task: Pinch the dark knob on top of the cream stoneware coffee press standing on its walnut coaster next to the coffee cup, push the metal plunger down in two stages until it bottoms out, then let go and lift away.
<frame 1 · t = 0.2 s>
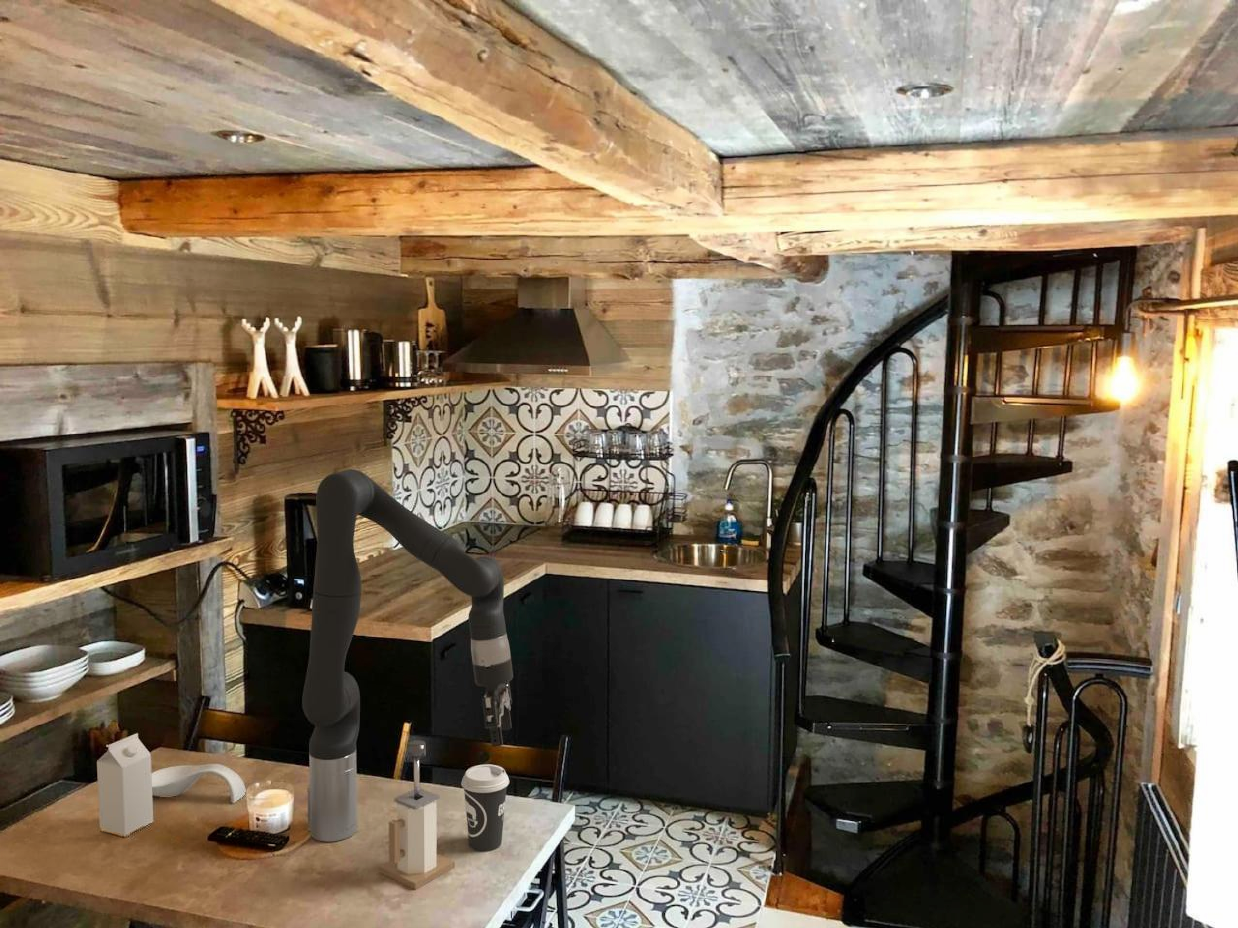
hand: (501, 737, 196), 23 cm above the table, tool pointing down, fingers open, 8 cm apart
spoon rest: (193, 795, 221), on the table
plunger: (416, 777, 187), point 18 cm above the table, slide at 0.0 cm
milk carton: (126, 828, 205), on the table
press: (417, 869, 189), on the table
coffee cup: (485, 844, 200), on the table
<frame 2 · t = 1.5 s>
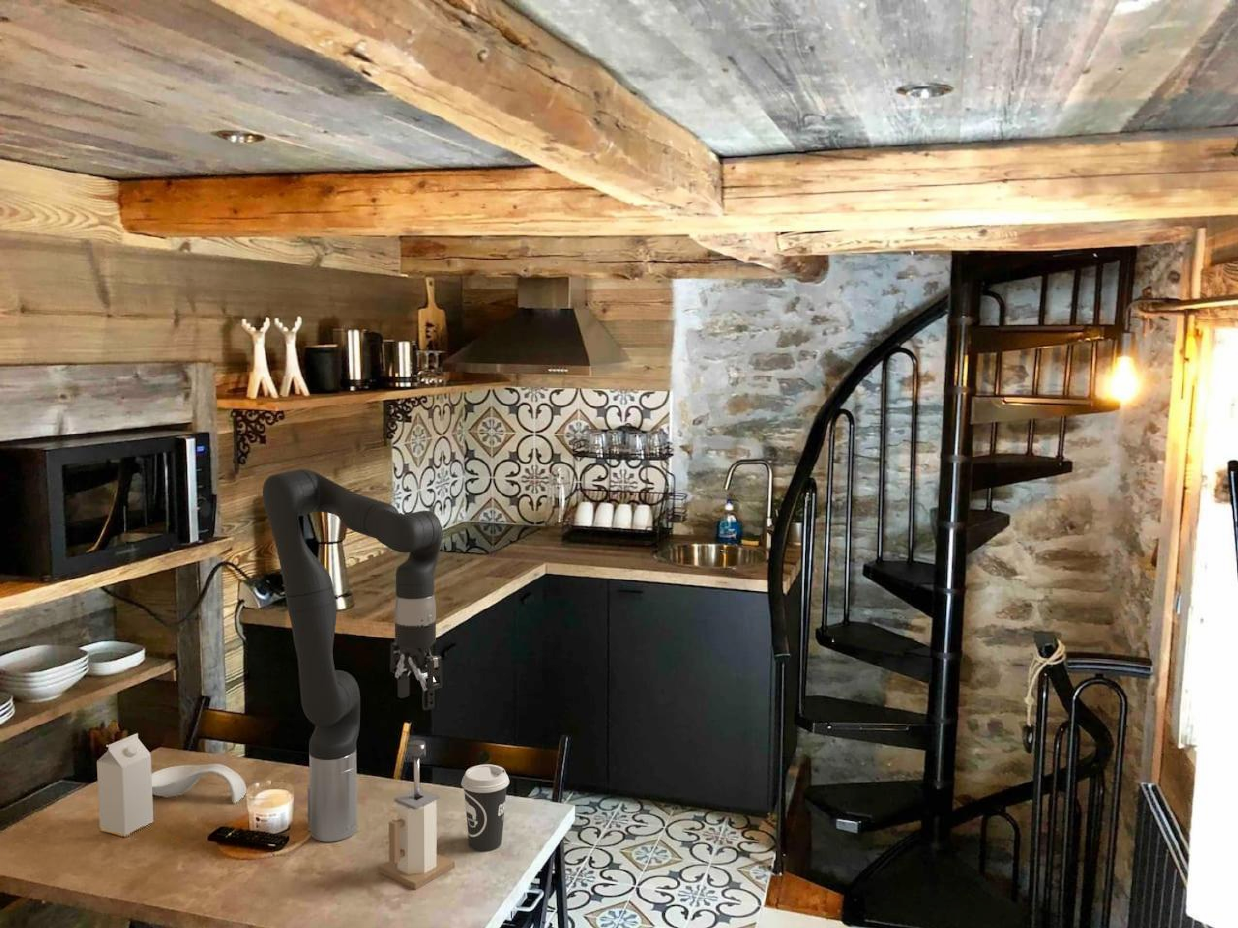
hand: (415, 702, 186), 33 cm above the table, tool pointing down, fingers open, 8 cm apart
nothing on the table moved.
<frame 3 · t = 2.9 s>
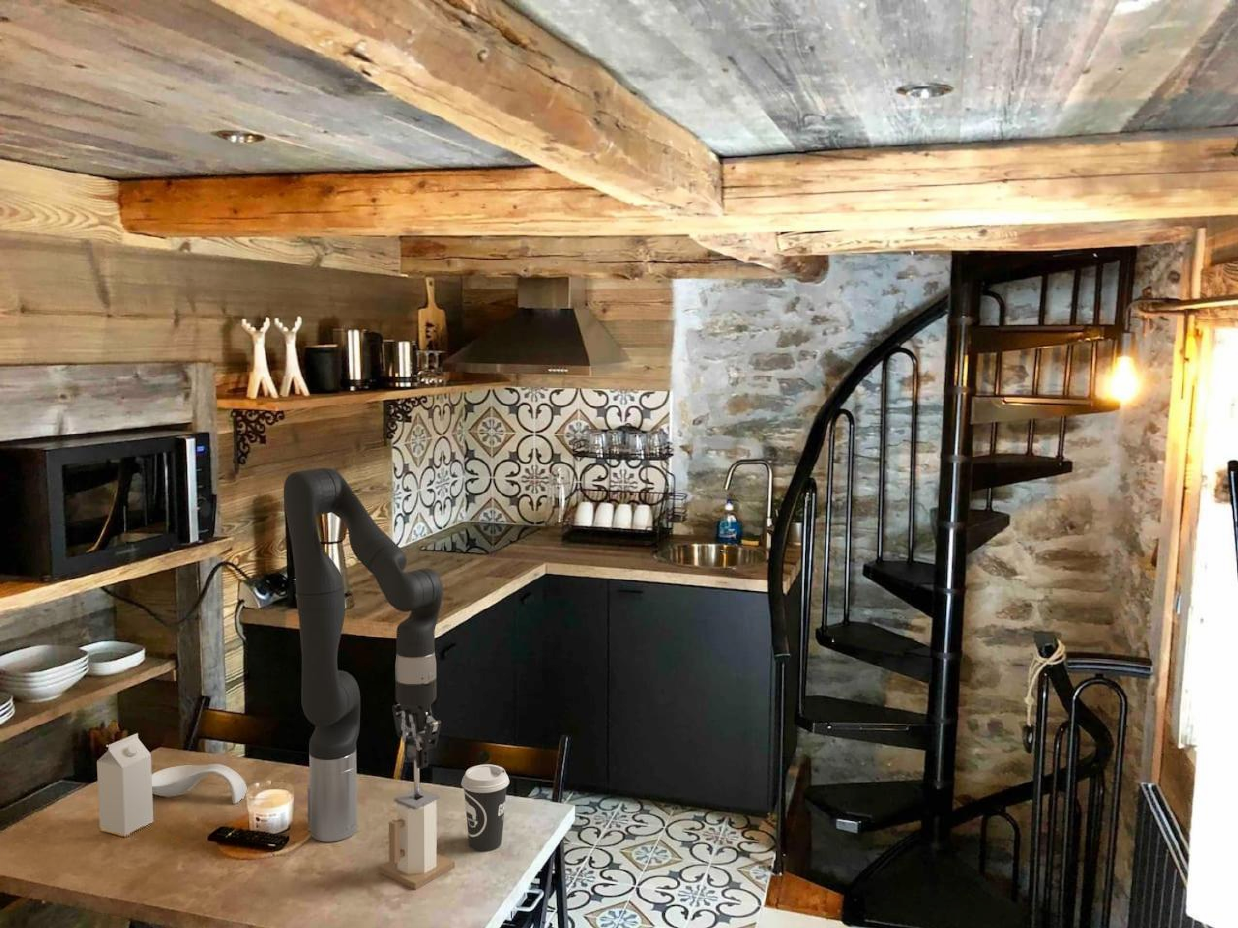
hand: (416, 763, 187), 21 cm above the table, tool pointing down, fingers closed on plunger, 3 cm apart
plunger: (416, 777, 187), point 18 cm above the table, slide at 0.0 cm, touching gripper
everything else where it was.
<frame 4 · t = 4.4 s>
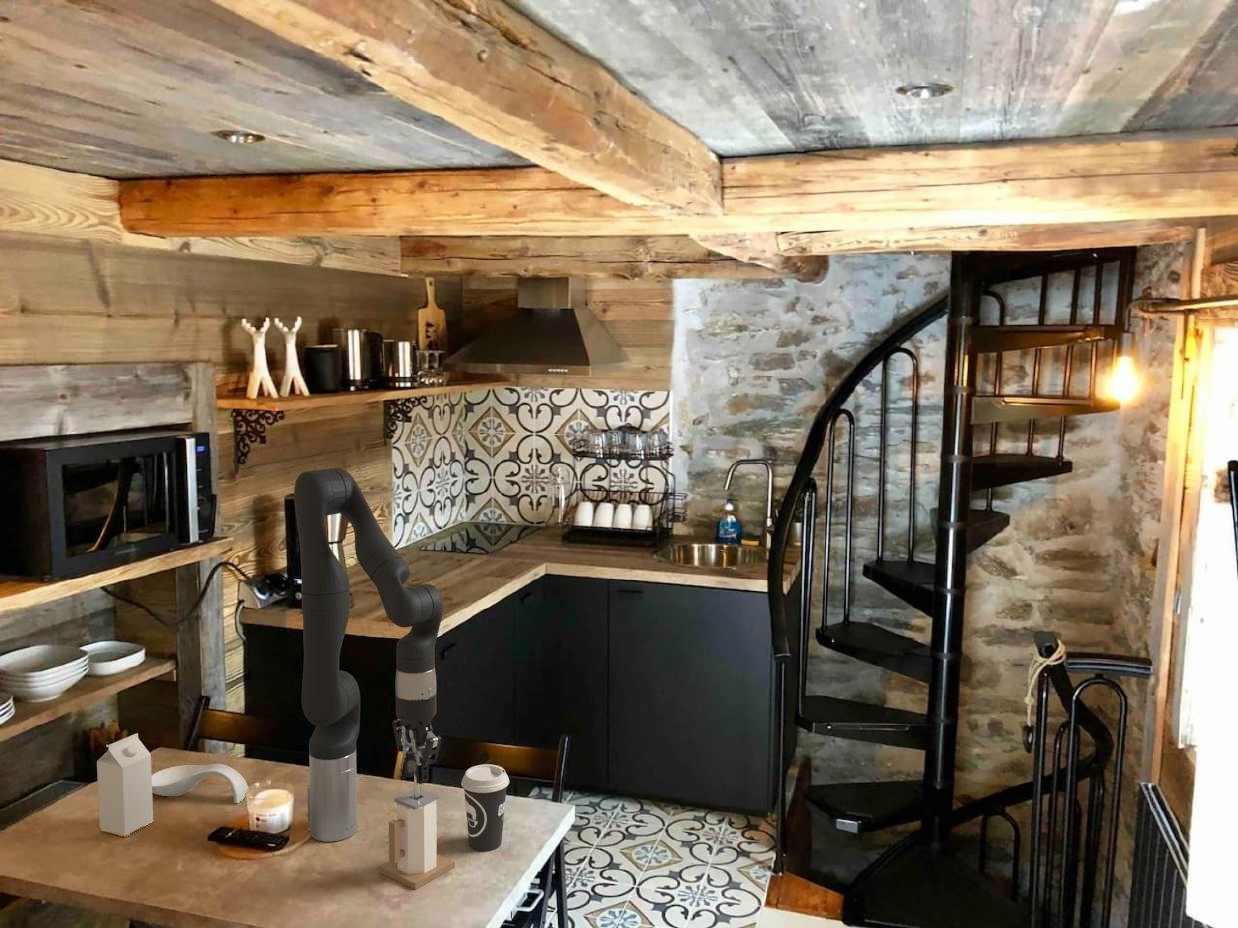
hand: (416, 778, 187), 18 cm above the table, tool pointing down, fingers closed on plunger, 3 cm apart
plunger: (416, 792, 188), point 15 cm above the table, slide at 3.0 cm, touching gripper
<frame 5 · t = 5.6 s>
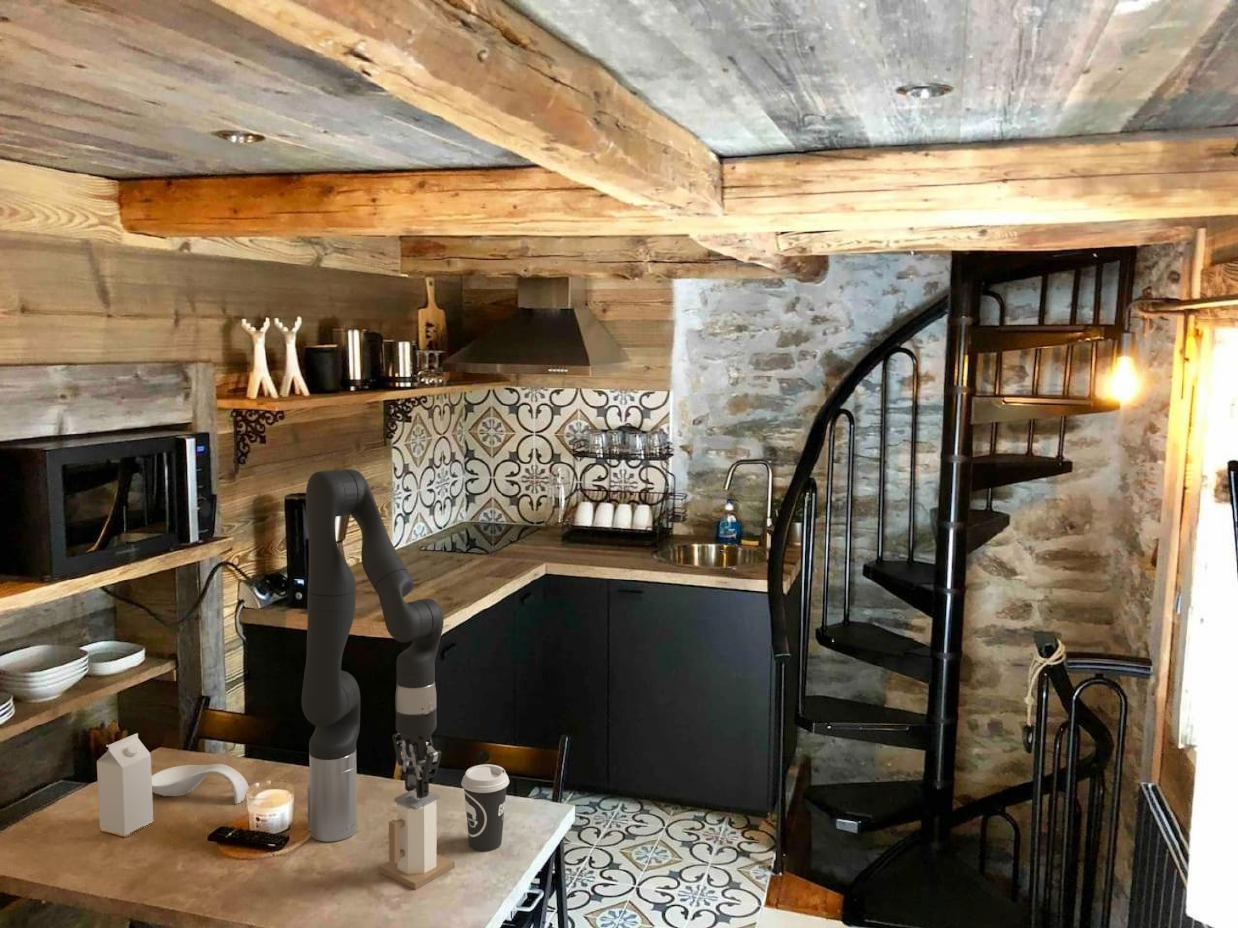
hand: (416, 792, 188), 15 cm above the table, tool pointing down, fingers closed on plunger, 3 cm apart
plunger: (416, 806, 188), point 13 cm above the table, slide at 5.8 cm, touching gripper
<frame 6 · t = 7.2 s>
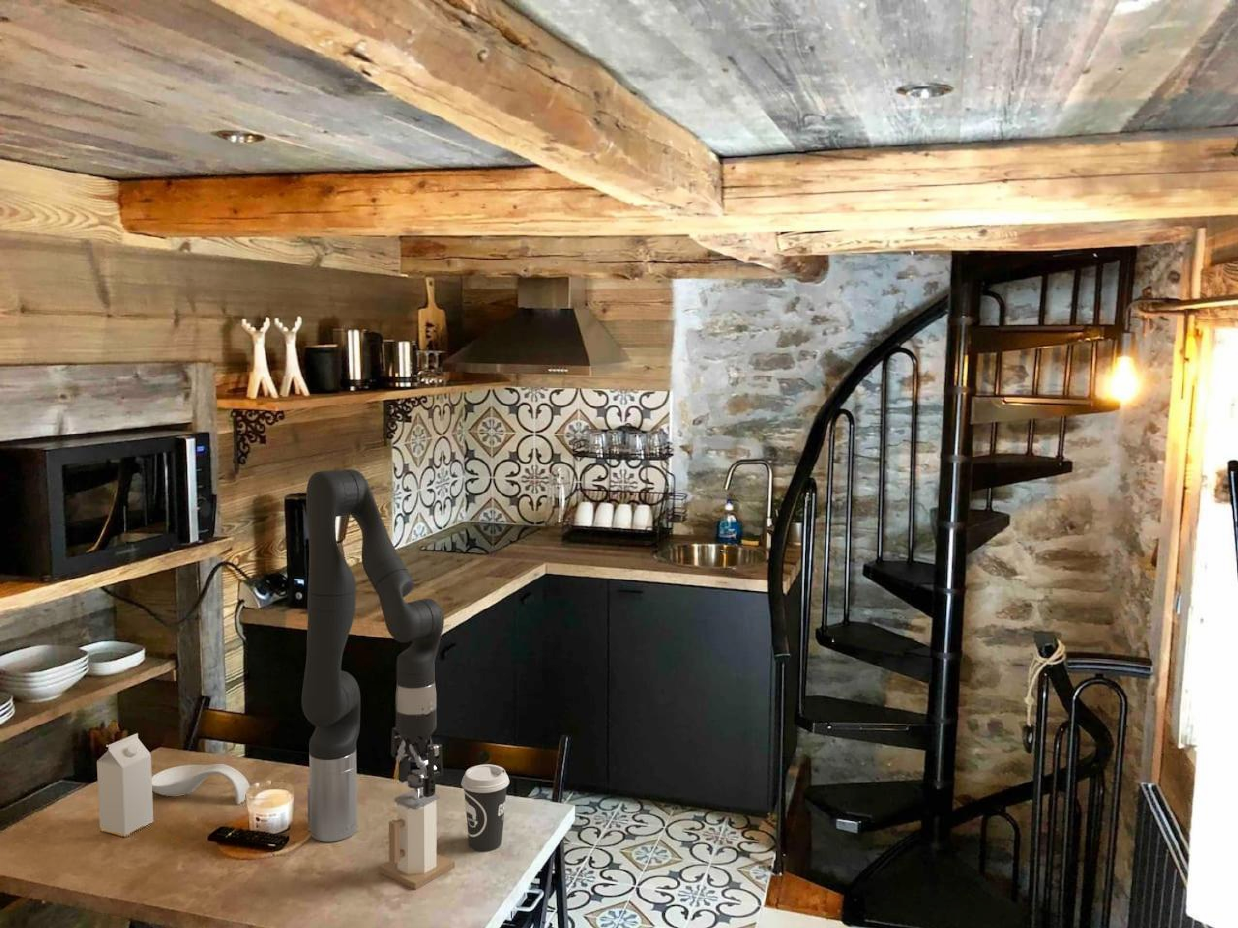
hand: (416, 788, 188), 16 cm above the table, tool pointing down, fingers open, 8 cm apart
plunger: (416, 807, 188), point 13 cm above the table, slide at 5.8 cm
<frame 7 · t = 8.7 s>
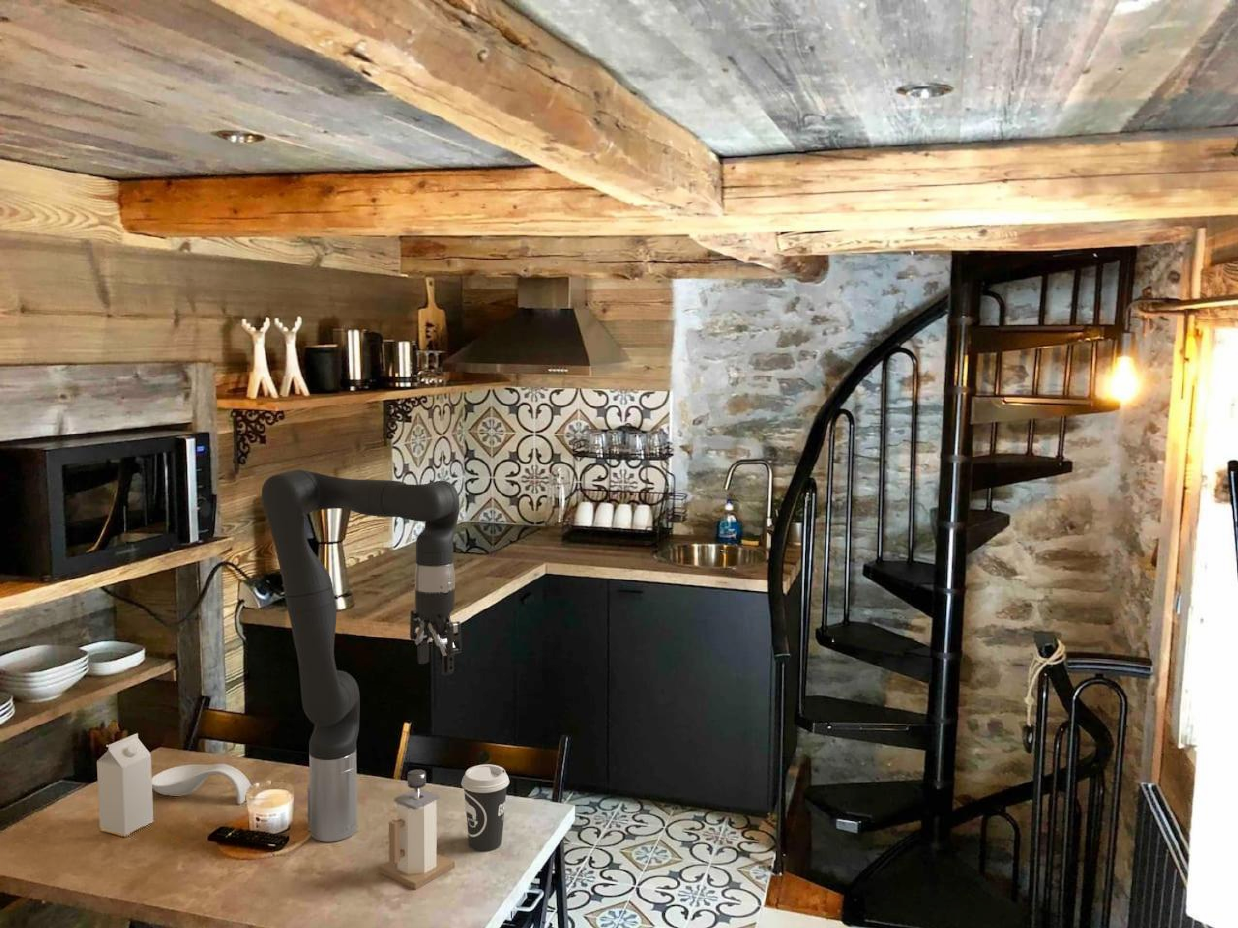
hand: (435, 668, 191), 38 cm above the table, tool pointing down, fingers open, 8 cm apart
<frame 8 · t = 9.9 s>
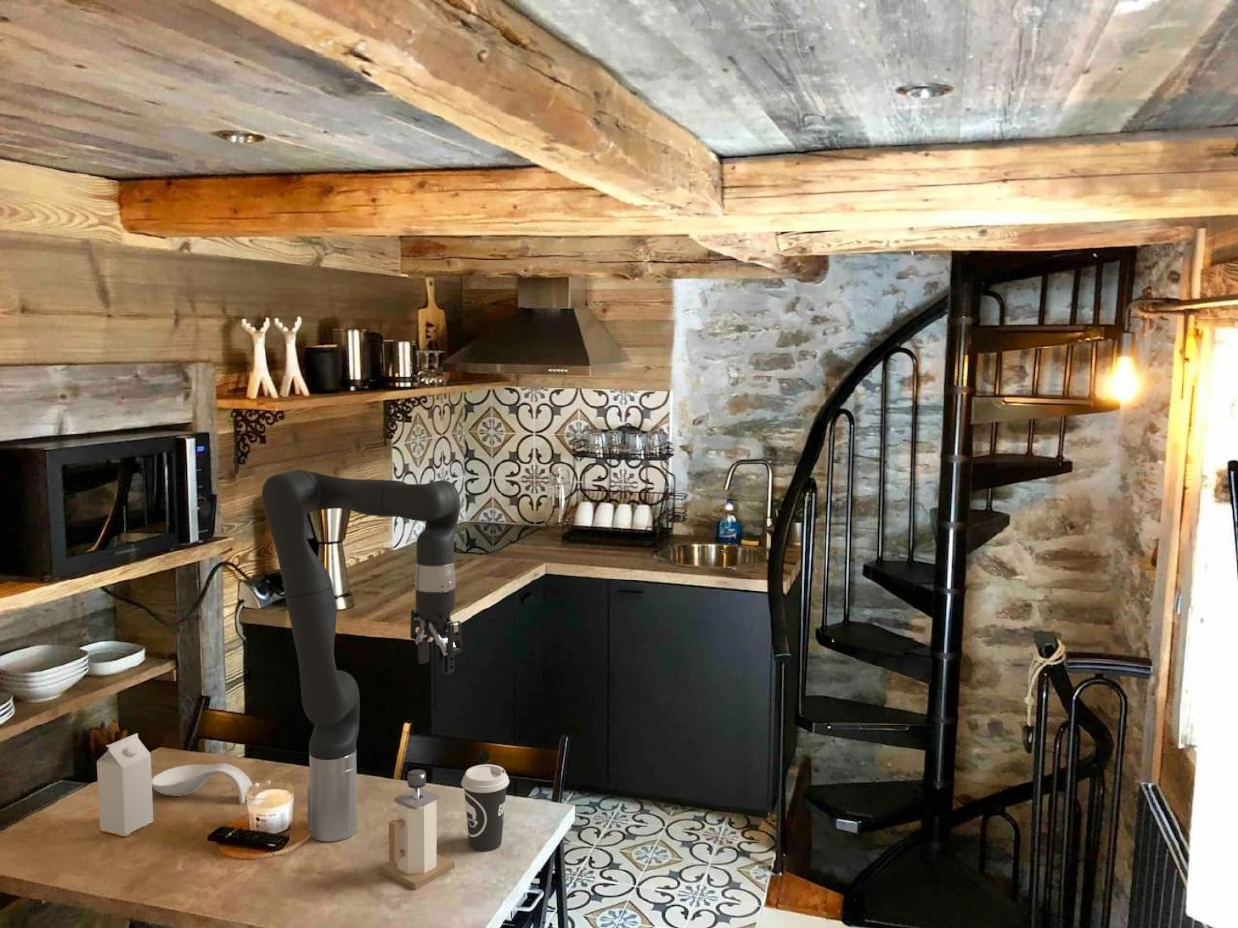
hand: (435, 667, 191), 38 cm above the table, tool pointing down, fingers open, 8 cm apart
at the end: plunger slide at 5.8 cm; the gripper is holding nothing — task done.
